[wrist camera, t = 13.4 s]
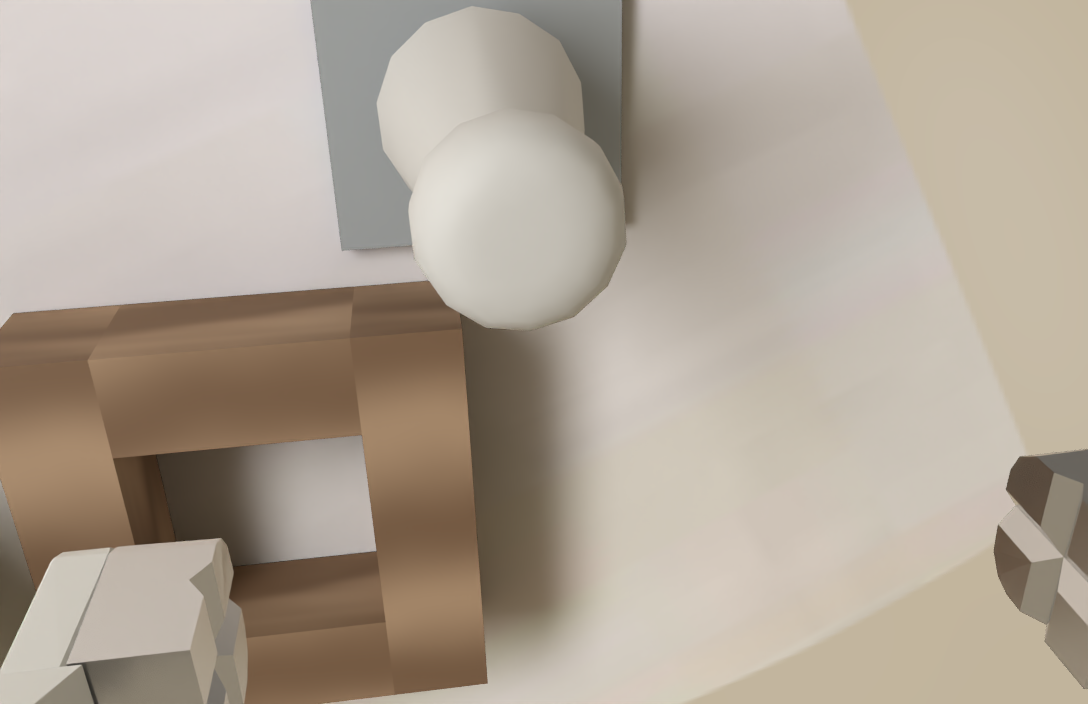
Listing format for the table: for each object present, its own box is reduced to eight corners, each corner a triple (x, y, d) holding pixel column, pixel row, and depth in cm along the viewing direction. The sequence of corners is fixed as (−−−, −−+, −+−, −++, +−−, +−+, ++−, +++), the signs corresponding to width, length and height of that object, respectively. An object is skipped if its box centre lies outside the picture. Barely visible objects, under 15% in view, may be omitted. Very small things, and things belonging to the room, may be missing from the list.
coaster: (305, -57, 29) (303, -55, 28) (618, -70, 30) (622, -68, 29) (342, 244, 33) (341, 250, 32) (617, 224, 33) (620, 230, 33)
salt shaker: (539, -31, 29) (638, 42, 18) (592, 154, 32) (709, 324, 20) (347, 34, 29) (320, 150, 18) (416, 214, 32) (431, 417, 20)
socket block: (12, 313, 32) (-35, 370, 28) (454, 279, 34) (462, 328, 30) (109, 651, 38) (81, 732, 35) (478, 609, 40) (487, 683, 36)
